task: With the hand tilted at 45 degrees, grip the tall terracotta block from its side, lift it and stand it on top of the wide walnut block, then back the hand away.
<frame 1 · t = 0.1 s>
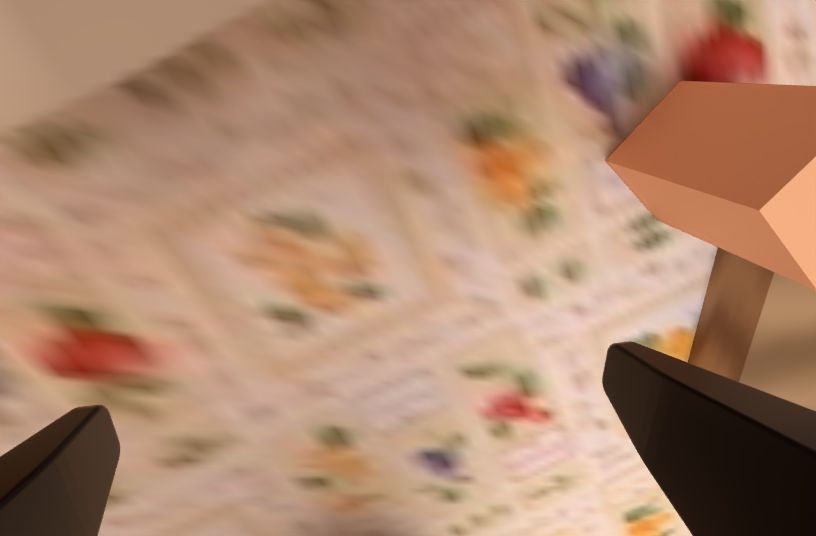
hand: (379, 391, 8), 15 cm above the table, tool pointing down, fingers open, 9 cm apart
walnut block: (766, 316, 30), on the table
terracotta block: (668, 154, 24), on the table
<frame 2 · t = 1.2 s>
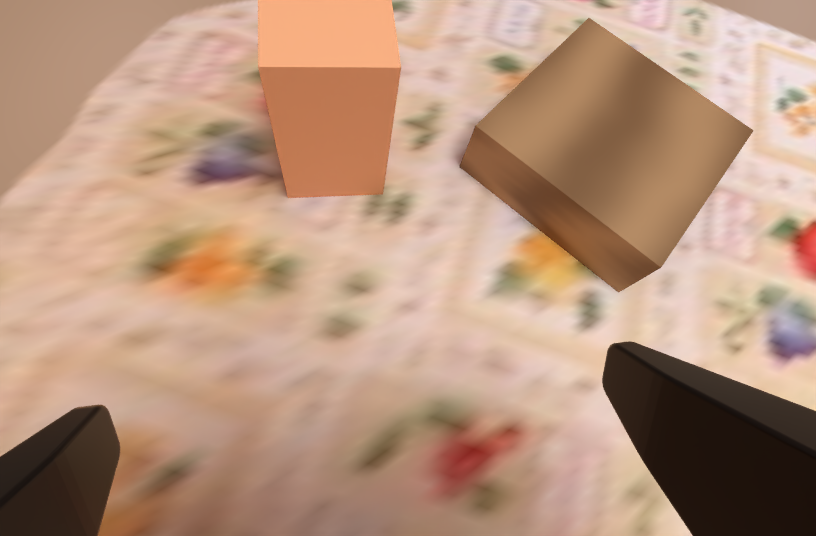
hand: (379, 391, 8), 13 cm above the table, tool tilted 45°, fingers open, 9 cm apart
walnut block: (584, 171, 28), on the table
terracotta block: (333, 156, 26), on the table
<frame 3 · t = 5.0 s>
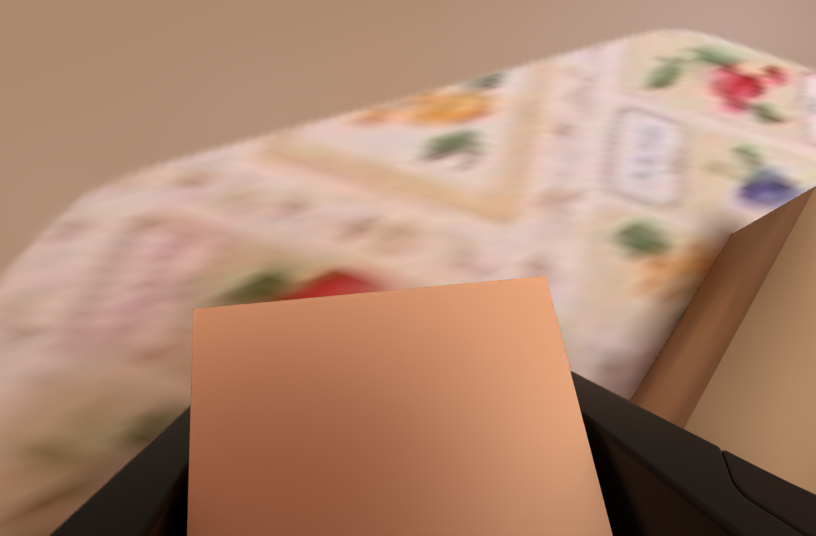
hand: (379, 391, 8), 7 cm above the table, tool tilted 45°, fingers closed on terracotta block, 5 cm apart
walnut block: (797, 439, 16), on the table
terracotta block: (371, 466, 14), on the table, touching gripper
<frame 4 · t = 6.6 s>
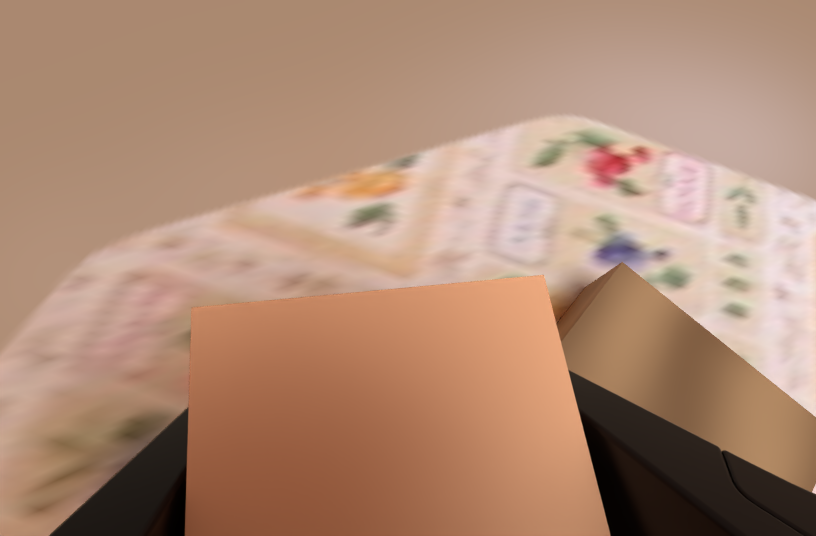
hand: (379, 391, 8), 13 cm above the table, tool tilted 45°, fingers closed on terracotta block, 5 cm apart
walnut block: (612, 445, 22), on the table
terracotta block: (370, 465, 14), point 7 cm above the table, touching gripper
when the fingers open (11 cm above the table, at t = 8.6 s): terracotta block drops 1 cm, resting on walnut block.
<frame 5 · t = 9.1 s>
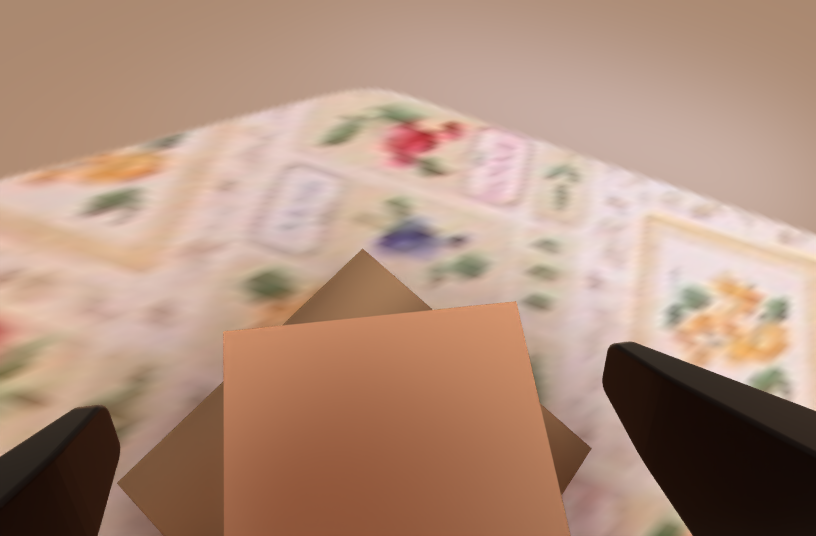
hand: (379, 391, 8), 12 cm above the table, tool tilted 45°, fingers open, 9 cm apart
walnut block: (366, 462, 19), on the table, touching terracotta block
terracotta block: (368, 462, 15), point 3 cm above the table, touching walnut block
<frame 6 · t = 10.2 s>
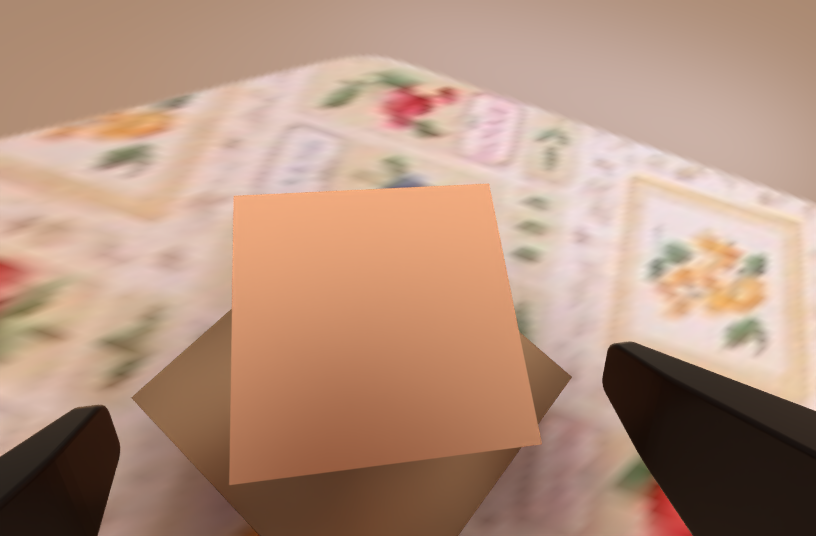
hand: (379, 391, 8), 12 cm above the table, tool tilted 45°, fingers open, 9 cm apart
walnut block: (362, 398, 20), on the table, touching terracotta block
terracotta block: (366, 380, 17), point 4 cm above the table, touching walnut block
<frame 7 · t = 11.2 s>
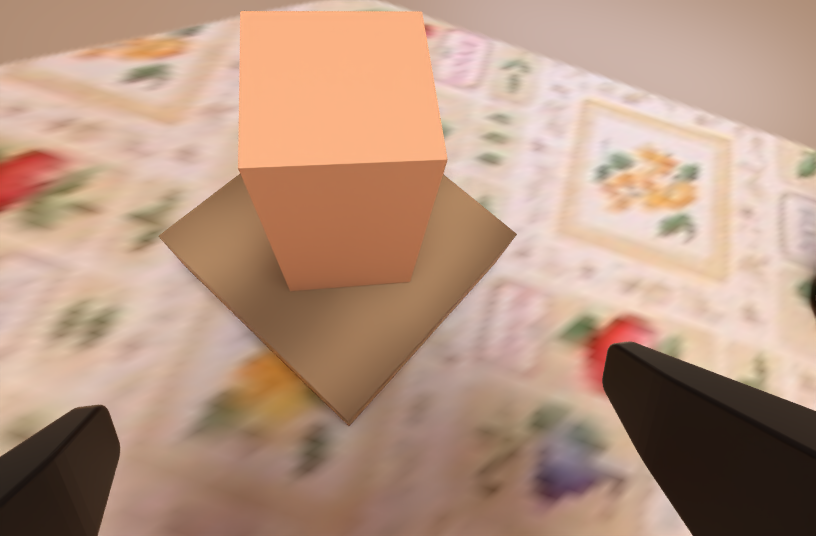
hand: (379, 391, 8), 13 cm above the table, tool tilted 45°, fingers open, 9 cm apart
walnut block: (347, 268, 24), on the table
terracotta block: (346, 232, 20), point 4 cm above the table
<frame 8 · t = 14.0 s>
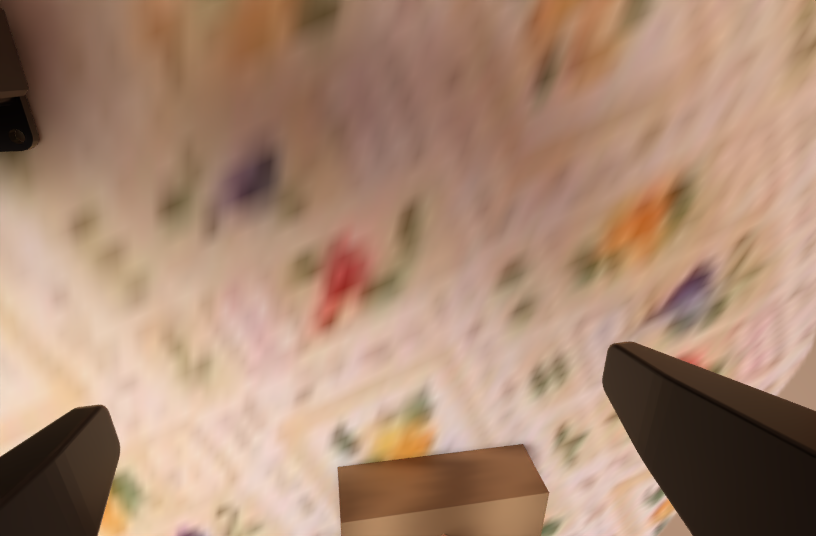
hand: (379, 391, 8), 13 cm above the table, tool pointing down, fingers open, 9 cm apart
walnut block: (428, 514, 30), on the table, touching terracotta block
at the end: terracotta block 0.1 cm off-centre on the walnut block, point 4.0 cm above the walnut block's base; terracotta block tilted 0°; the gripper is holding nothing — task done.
